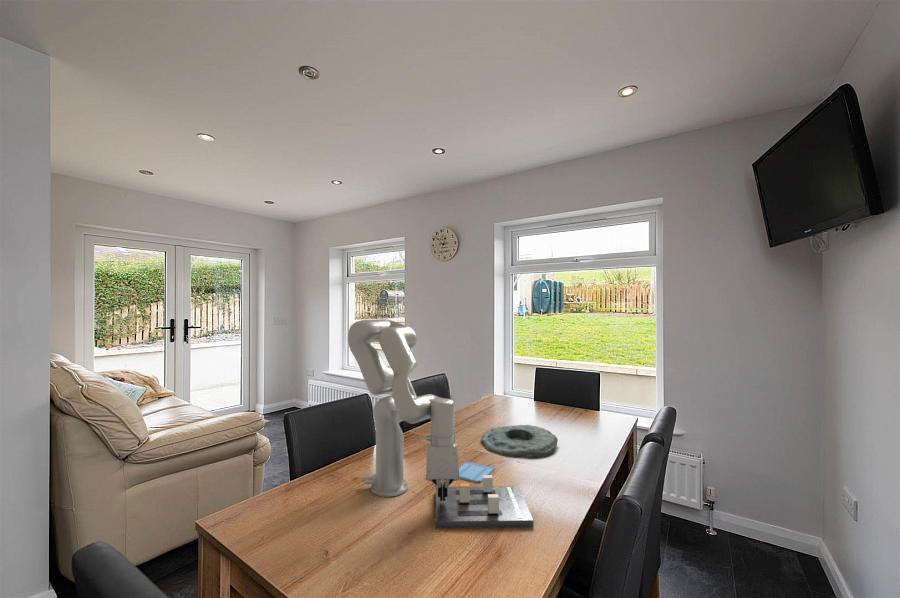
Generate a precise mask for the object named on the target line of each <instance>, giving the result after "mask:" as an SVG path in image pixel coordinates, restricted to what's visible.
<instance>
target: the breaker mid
mask: <svg viewBox="0 0 900 598" xmlns="http://www.w3.org/2000/svg"><path fill="white" fill-rule="evenodd" d="M459 487H460V502H470V487H471V486H470V483H466V482H465V483H459Z"/></svg>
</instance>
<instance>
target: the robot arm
mask: <svg viewBox="0 0 900 598" xmlns="http://www.w3.org/2000/svg"><path fill="white" fill-rule="evenodd" d="M417 339H418V338H417V334H416V332H415V331H414V330H413V328H411V327H410V326H409V325H406V324H403V323H400V322H396V321H394V320H391V319H387V318H385V319H384V318H383V319H382V318H380V319H362V320H358V321H356V322H353V323H352V324H351V325H350V327H349V329H348V332H347V344H348V348H349V350H350V351H351V354H352V356H353V357H354V359H355V361H356V362H357V365H358V367H359V369H360V372H361V373H360V374H361V375H362V377H363V380H364V382H365V386H366V388H367V389H368V392H369V393H370V394H371V395H373V396H383V395H386V394H390V393H391V395H388V396H384V397H382V398H380V399H378V400H377V401H376V402H375V403H374V405H373V409H372V414H373V420H374V426H375V427H374V428H375V474H372V475H363V476H362V482H364V484H365V485H371V486H370V491H371V493H373V494H374V495H376V496H378V497H385V498H389V497H396V496H399V495H402V494H404V493H405V492H407V490H408V488H409V483H408V482H407V480H405V479H404V462H405V461H404V445H405V444H404V443H405V440H404V439H405V437H404V432H403V430H402V428H401V426H400V423H401V422H403V421H405V422H406V423H408V424H410V425H411V424H417V423H420V422H422V421H425V420H426V421H427V420H429V419H430V433H429V435H426V437H425V440H426V441H429V443H428V446H427V451H426V463H425V464H426V465H425V466H426V467H425V469H426V470H425V473H426V474H425V479H424V480H425V481H428V482H432V483H433V484H434V485H435V486H436V487H437V488H438V497H440V501H442V487H443V501H445V497H447V488H448V487H450V485H451V484H452V483H453V482H456V481H460V476H459V467H460V455H459V448H458V443H457V442H456V438H455V437H456V435H455V434H456V424H455V423H456V414H455V413H456V406H455V405H456V404H455V402H454V400H453V399H450V398H444V397H440V396H438V395H434V394H431V393H429V394H424V395H419V396H417V394H416V392H415V389H414V387H413V385H412V381H411V380H410V377H409V376H410V374H411V373H412V372H413V371H415V369H416V368H417V365H418V363H417V361H416V359H415V357H414V355H413V352H412V350H411V349H413V348H414V347H415V346H416V344H417ZM372 343H379V346H380V348H381V351H382V352H383V354H384V356H385V358H386V360H387V364H388V366H387V365H386V364H385V363H384V361H383V358H382V356H381V353H380V352H379V351H378V350H377V348H375V347H374V346H373V345H372ZM442 480H444V481H443V483H442V482H441V481H442Z"/></svg>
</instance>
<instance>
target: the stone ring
mask: <svg viewBox="0 0 900 598" xmlns="http://www.w3.org/2000/svg"><path fill="white" fill-rule="evenodd" d="M516 439H517V440H516ZM519 439H522V440H519ZM558 441H559V440H558V437H557V436H556V435H555V434H554V433H552V432H551V431H549V430H548V429H545V428H544V427H541V426H537V425H531V424H519V425H517V424H516V425H504V426H497V427H496V428H495V427H492V428H491V429H490V430H487V431H486V432H485V433H484V434H482V436H481V444H482V445H483V446H484V447H485V449H487V450H488V451H489V452H491V453H494V454H497V455H501V456H503V457H504V456H505V457H509V458H525V459H538V458H543V457H546V456H549V455H550V454H552V453H553V452H555V451H556V448H557V445H558Z"/></svg>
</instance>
